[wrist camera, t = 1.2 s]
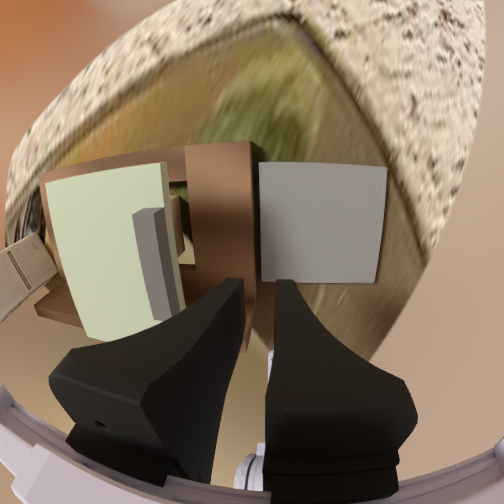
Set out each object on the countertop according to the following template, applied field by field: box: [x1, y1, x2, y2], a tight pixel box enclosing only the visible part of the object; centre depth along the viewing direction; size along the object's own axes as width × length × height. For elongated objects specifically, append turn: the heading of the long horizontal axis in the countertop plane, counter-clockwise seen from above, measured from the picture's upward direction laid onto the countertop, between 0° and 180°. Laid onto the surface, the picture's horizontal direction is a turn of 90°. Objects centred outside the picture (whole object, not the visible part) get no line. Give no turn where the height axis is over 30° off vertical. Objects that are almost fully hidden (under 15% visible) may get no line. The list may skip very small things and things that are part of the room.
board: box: [34, 141, 257, 353], centre depth 19 cm, size 13×21×6 cm, turn 92°
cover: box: [45, 162, 186, 342], centre depth 15 cm, size 12×9×2 cm
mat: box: [259, 162, 387, 283], centre depth 19 cm, size 9×9×1 cm
